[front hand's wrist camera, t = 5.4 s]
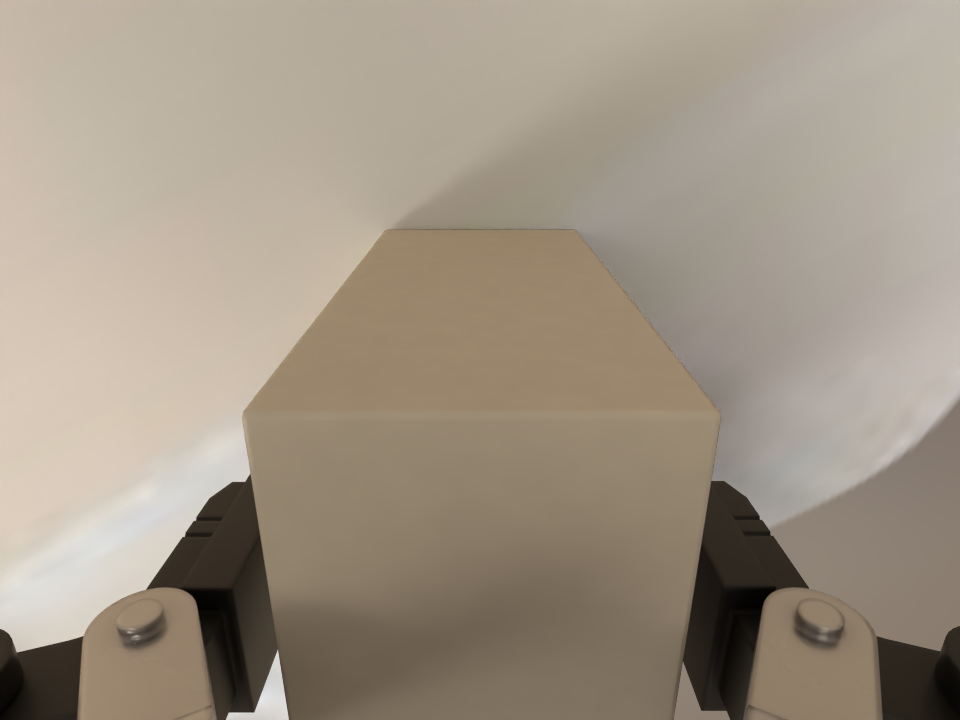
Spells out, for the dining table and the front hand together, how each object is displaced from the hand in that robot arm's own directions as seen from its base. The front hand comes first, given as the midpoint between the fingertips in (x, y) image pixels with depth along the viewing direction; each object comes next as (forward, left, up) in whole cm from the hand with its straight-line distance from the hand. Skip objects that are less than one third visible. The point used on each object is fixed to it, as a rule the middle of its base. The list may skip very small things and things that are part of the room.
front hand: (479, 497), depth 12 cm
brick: (0, 0, -6) cm, 6 cm away
